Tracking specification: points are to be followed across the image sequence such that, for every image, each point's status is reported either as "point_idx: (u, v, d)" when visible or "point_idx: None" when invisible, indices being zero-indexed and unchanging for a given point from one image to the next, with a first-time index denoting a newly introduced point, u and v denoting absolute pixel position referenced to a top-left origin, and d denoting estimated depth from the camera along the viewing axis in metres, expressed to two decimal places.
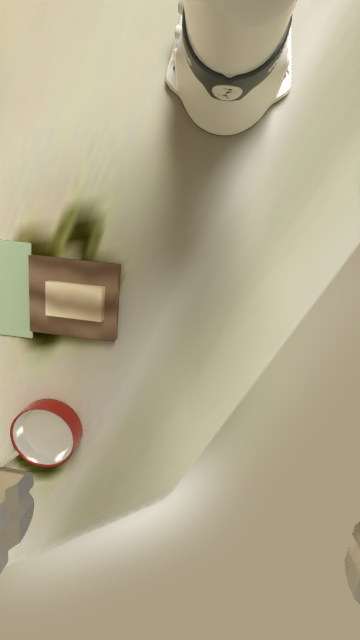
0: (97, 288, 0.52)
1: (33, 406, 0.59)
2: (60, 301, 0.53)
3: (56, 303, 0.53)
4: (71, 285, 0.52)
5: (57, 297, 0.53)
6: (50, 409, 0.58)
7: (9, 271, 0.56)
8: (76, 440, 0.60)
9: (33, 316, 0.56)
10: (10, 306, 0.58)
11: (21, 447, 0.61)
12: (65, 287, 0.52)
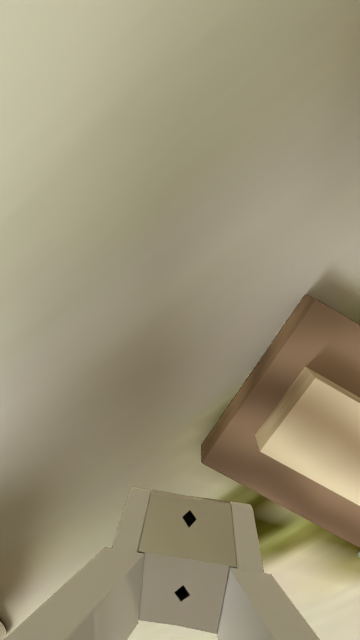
0: (271, 455, 0.20)
1: None
2: None
3: None
4: (330, 488, 0.20)
5: None
6: None
7: None
8: None
9: None
10: None
11: None
12: (347, 490, 0.20)
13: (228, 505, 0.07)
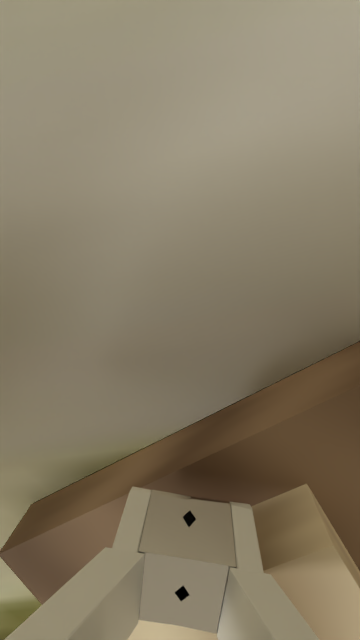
0: None
1: None
2: None
3: None
4: None
5: None
6: None
7: None
8: None
9: None
10: None
11: None
12: None
13: (228, 505, 0.07)
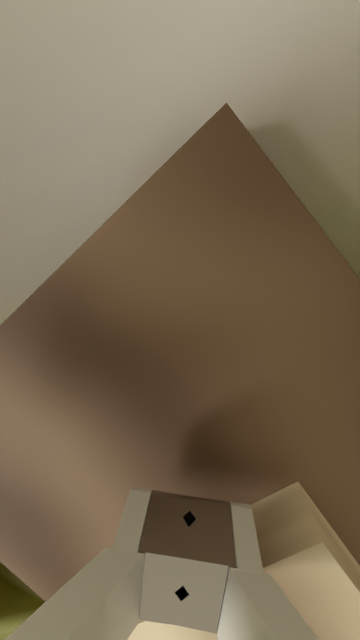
0: None
1: None
2: None
3: None
4: None
5: None
6: None
7: None
8: None
9: None
10: None
11: None
12: None
13: (227, 505, 0.07)
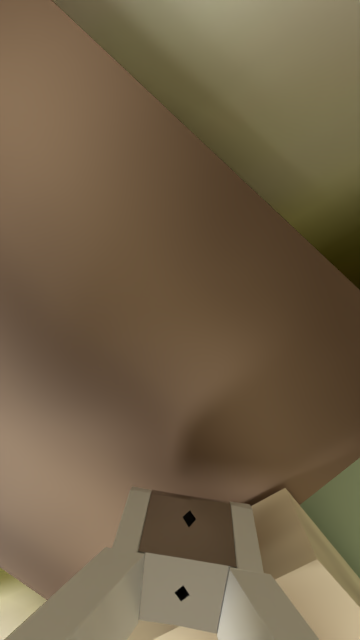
0: None
1: None
2: None
3: None
4: None
5: None
6: None
7: None
8: None
9: (343, 438, 0.08)
10: None
11: None
12: None
13: (228, 505, 0.07)
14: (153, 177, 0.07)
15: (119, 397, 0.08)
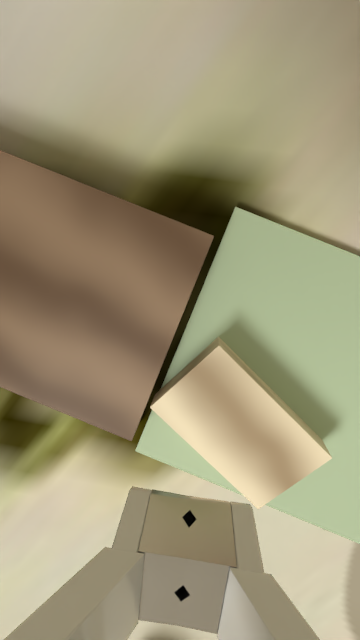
0: (160, 414, 0.19)
1: None
2: (265, 455, 0.19)
3: (280, 458, 0.19)
4: (210, 462, 0.20)
5: (265, 465, 0.19)
6: None
7: None
8: None
9: (181, 281, 0.17)
10: (258, 324, 0.19)
11: None
12: (226, 468, 0.20)
13: (228, 505, 0.07)
14: (58, 198, 0.17)
15: (80, 298, 0.18)
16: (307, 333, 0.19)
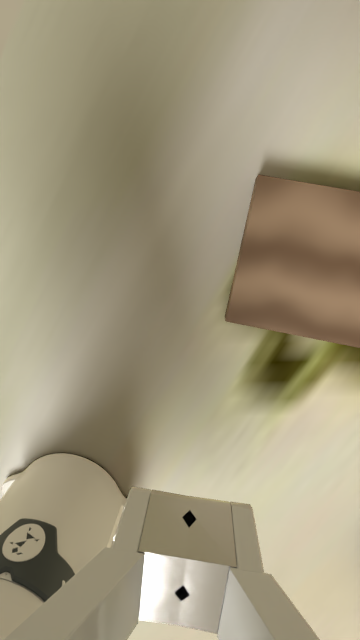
0: None
1: None
2: None
3: None
4: None
5: None
6: None
7: None
8: None
9: None
10: None
11: None
12: None
13: (228, 505, 0.07)
14: (334, 203, 0.27)
15: (348, 263, 0.29)
16: None
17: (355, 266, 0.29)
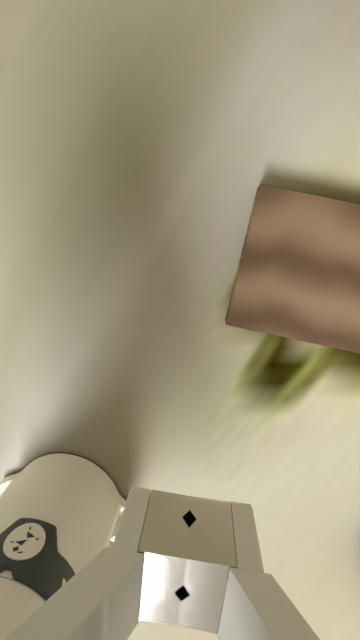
0: None
1: None
2: None
3: None
4: None
5: None
6: None
7: None
8: None
9: None
10: None
11: None
12: None
13: (228, 505, 0.07)
14: (332, 213, 0.29)
15: (344, 271, 0.30)
16: None
17: (351, 274, 0.30)
